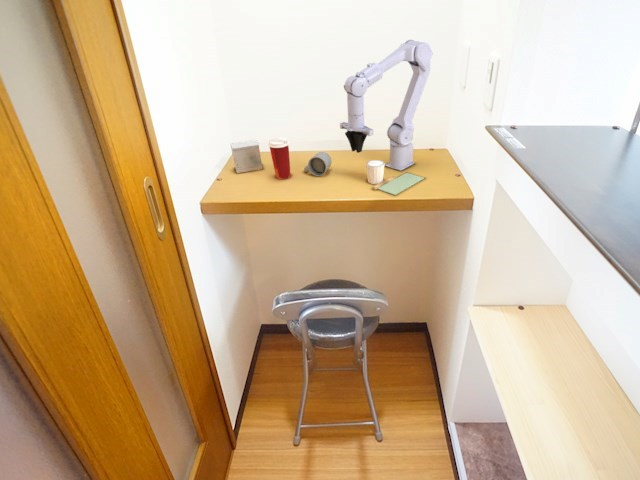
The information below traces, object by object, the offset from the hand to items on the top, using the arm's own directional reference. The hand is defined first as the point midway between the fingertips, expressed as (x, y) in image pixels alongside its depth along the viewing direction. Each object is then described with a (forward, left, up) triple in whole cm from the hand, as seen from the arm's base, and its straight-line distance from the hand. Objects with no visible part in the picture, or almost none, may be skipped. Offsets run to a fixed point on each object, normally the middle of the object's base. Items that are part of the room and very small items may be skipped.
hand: (356, 151), depth 148 cm
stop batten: (0, +14, -9) cm, 16 cm away
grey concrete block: (+23, -39, -10) cm, 46 cm away
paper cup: (+19, -22, -10) cm, 31 cm away
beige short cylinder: (0, +9, -10) cm, 13 cm away
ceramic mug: (+8, -14, -10) cm, 19 cm away
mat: (-4, +18, -9) cm, 21 cm away
